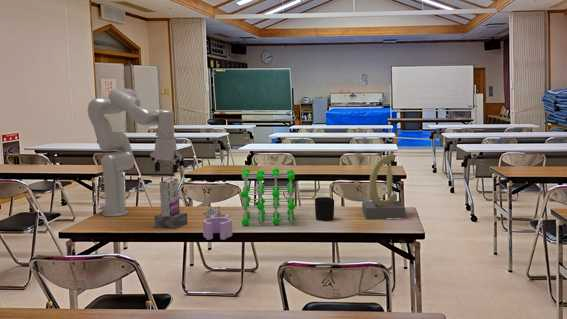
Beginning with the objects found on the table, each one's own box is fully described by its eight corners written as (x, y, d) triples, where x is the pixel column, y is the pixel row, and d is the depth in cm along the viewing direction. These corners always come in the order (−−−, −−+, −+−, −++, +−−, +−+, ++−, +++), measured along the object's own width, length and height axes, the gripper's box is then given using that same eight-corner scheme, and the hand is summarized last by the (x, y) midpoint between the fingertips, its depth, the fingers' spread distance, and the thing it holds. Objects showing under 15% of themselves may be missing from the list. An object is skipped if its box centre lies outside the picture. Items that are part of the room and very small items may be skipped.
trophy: (405, 219, 293) (405, 157, 290) (366, 219, 294) (366, 157, 290) (399, 211, 312) (399, 152, 308) (362, 211, 312) (362, 153, 309)
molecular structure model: (244, 215, 307) (243, 167, 304) (294, 214, 307) (293, 166, 304) (241, 226, 283) (240, 174, 280) (295, 225, 283) (294, 173, 280)
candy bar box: (170, 212, 293) (168, 178, 291) (180, 212, 292) (178, 178, 290) (160, 217, 282) (159, 181, 280) (170, 217, 281) (169, 181, 279)
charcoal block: (154, 227, 284) (154, 216, 283) (167, 222, 294) (166, 211, 294) (175, 228, 280) (175, 217, 280) (187, 223, 290) (187, 213, 290)
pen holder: (337, 218, 298) (337, 197, 297) (330, 221, 289) (330, 201, 288) (319, 216, 302) (319, 196, 301) (311, 220, 293) (311, 199, 292)
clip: (207, 229, 278) (207, 214, 278) (234, 229, 278) (234, 214, 277) (201, 240, 258) (200, 224, 258) (230, 239, 258) (230, 223, 257)
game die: (217, 230, 292) (229, 213, 292) (210, 227, 284) (222, 209, 285) (204, 219, 296) (216, 202, 296) (196, 216, 288) (209, 199, 288)
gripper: (145, 135, 289) (146, 171, 292) (177, 137, 283) (177, 174, 285) (154, 134, 296) (155, 169, 298) (185, 136, 290) (186, 172, 292)
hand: (166, 171), depth 292 cm, fingers open, 9 cm apart
